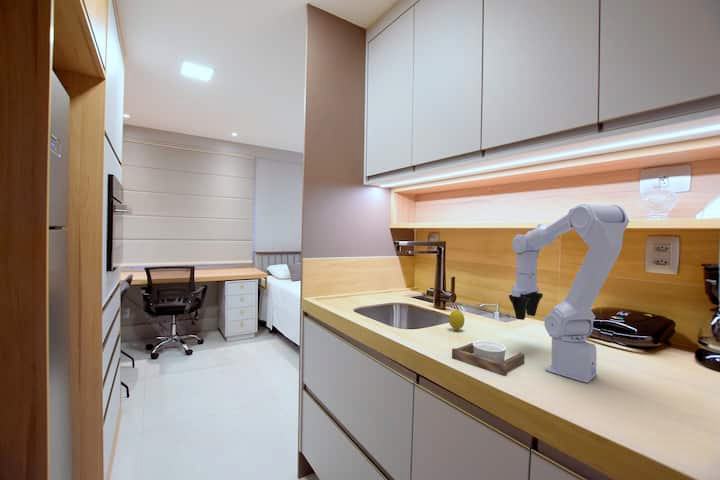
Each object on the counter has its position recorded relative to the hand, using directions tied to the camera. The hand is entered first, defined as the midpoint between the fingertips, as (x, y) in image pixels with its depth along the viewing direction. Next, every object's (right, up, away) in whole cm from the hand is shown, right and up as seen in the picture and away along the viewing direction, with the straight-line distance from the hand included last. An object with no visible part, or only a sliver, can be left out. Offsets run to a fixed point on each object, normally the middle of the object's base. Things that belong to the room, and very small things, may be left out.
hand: (525, 317), depth 99 cm
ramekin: (-15, -11, -8) cm, 20 cm away
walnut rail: (-14, -10, -8) cm, 19 cm away
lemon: (-15, -10, +21) cm, 28 cm away
